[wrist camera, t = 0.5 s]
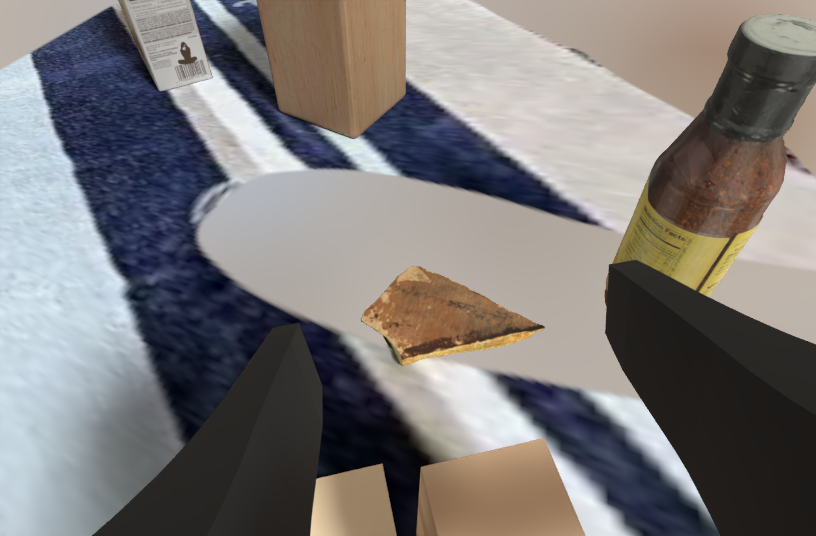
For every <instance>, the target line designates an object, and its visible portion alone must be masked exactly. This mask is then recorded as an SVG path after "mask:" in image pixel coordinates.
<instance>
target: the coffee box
mask: <svg viewBox="0 0 816 536" xmlns="http://www.w3.org/2000/svg"><path fill="white" fill-rule="evenodd" d="M118 1H119V3H120V6H121V8H122V11H123V13H124V16H125V18H126V21H127V23H128V26H129V28H130V30H131V33H132V35H133V38H134V40H135V43H136V45H137V48H138V50H139V52H140V55H141V57H142V59H143V61H144V63H145V65H146V67H147V69H148V71H149V72H150V74H151V76H152V78H153V80H154V82H155V84H156V86H157V88H158V90H159V91H165V90H169V89H172V88H176V87H180V86H184V85H187V84H191V83H195V82H199V81H203V80H207V79H210V78H212V73H211V70H210V67H209V64H208V60H207V57H206V53H205V50H204V46H203V43H202V40H201V37H200V33H199V30H198V26H197V23H196V20H195V16H194V13H193V9H192V6H191V3H190V0H118Z"/></svg>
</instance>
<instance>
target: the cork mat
mask: <svg viewBox="0 0 816 536" xmlns="http://www.w3.org/2000/svg"><path fill="white" fill-rule="evenodd" d="M310 536H397V535H396V530H395V525H394V520H393V515H392V510H391V505H390V500H389V495H388V490H387V485H386V480H385V475H384V469H383V464H378V465H374V466H370V467H365V468H361V469H357V470H352V471H348V472H344V473H339V474H335V475H331V476H326V477H322V478H318V479H316V486H315V494H314V502H313V511H312V520H311V532H310Z"/></svg>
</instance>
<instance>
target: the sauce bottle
mask: <svg viewBox="0 0 816 536" xmlns="http://www.w3.org/2000/svg"><path fill="white" fill-rule="evenodd" d="M727 55H728V61H727V64H726V66H725V68H724V70H723V73H722V75H721V77H720V78H719V81H718V83H717V85H716V88H715V90H714V92H713V94H712V96H711V97H710V98H709V99H708V100H707V102H706V104H705V107H704V109H703V111H702V112H701V113H700V114H699V115H698V116H697V117H696V118H695V119H694V120H693V121H692V122H691V124H690V125H689V126H688V127H687V128H686V129H685V130H684V131H683V132H682V133H681V134H680V135H679V137H678V138H677V139H676V140H675V141H674V142H673V143H672V144H671V145H670V146H669V147H668V148H667V150H665V151H664V152H663V153H662V154H661V155H660V156H659V157H658V159H657V160H656V162H655V164H654V166H653V168H652V170H651V172H650V175H649V177H648V180H647V182H646V184H645V187H644V189H643V192H642V194H641V197H640V199H639V202H638V204H637V207H636V209H635V211H634V214H633V216H632V219H631V221H630V223H629V226H628V228H627V230H626V233H625V235H624V237H623V240H622V242H621V244H620V247H619V249H618V252H617V254H616V257H615V259H614V261H613V264H615V263H620V262H625V261H631V260H638V261H640V262H642V263H644V264H646V265H648V266H650V267H652V268H654V269H656V270H658V271H660V272H662V273H664V274H666V275H667V276H669V277H671V278H673V279H675V280H677V281H679V282H681V283H683V284H684V285H686V286H688V287H690V288H692V289H694V290H696V291H698V292H700V293H702V294H704V295H705V296H707V297H710V295H711V294H712V292H713V290H714V289H715V288H716V286H717V285H718V283H719V282H720V280H721V279H722V277H723V276H724V274H725V273H726V271H727V270H728V268H729V267H730V265H731V264H732V263H733V261H734V260H735V258H736V257H737V255H738V254H739V252H740V251H741V249H742V248H743V246H744V245H745V244H746V242H747V241H748V239H749V238H750V236H751V235H752V233H753V232H754V231H755V229H756V228H757V226H758V225H759V223H760V221H761V220H762V217H763V213H764V212H765V210H766V209H767V208H768V206H769V205H770V203H771V201H772V200H773V199H774V197H775V196H776V194H777V193H778V191H779V190H780V187H781V185H782V183H783V181H784V174H785V167H786V162H787V158H788V157H787V156H786V151H785V146H784V140H783V136H784V134H785V133H786V132H787V131H788V130H789V129H790V128H791V126H792V124H793V122H794V118H795V116H796V115H797V112H798V111H799V109H800V107H801V106H802V105H803V103H804V102H805V99H806V97H807V96H808V94H809V92H810V91H811V89H812V88H813V86H814V85H815V83H816V21H813V20H810V19H805V18H801V17H795V16H785V15H781V14H763V15H758V16H754V17H752V18H750V19H748V20H746V21H745V22H743V23H742V24H741V25H740V27H739V29H738V31H737V33H736V35H735V37H734V39H733V40H732V43H731V44H730V47H729V49H728V53H727ZM608 275H609V273H608ZM607 293H608V276H607V279H606V290H605V303H606V306H607Z"/></svg>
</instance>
